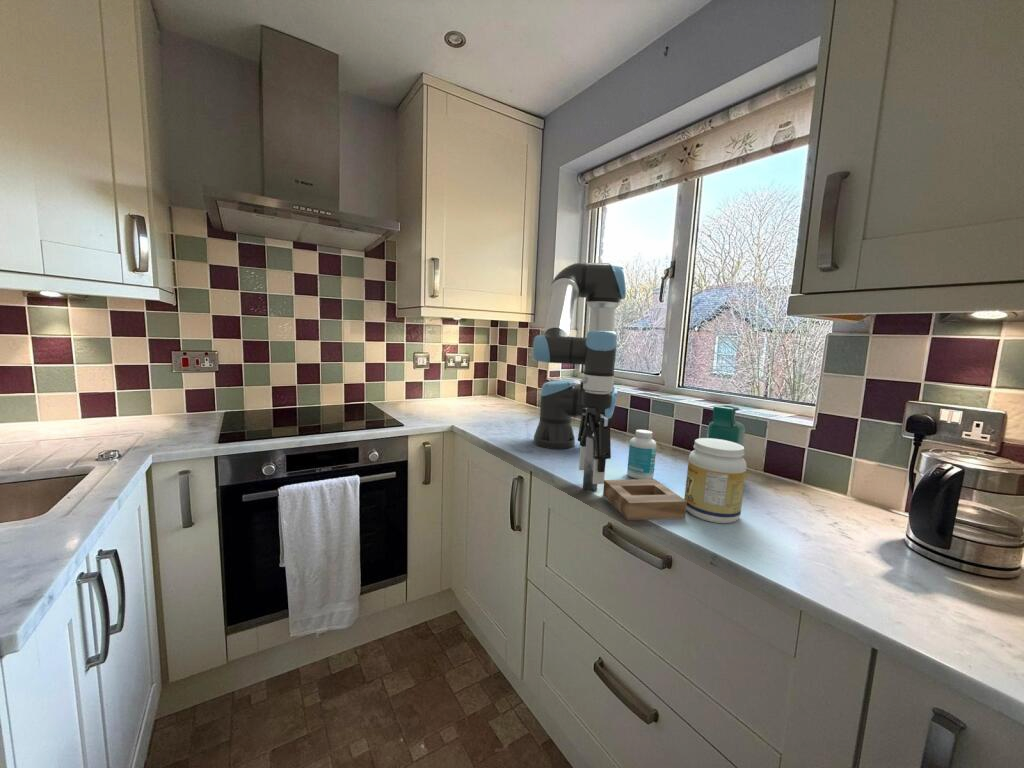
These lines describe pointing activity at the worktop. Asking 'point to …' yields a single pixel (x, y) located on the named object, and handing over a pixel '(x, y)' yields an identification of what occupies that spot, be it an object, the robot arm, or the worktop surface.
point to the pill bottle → (642, 455)
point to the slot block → (644, 499)
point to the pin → (589, 465)
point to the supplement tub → (715, 480)
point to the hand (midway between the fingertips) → (590, 476)
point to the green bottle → (726, 425)
